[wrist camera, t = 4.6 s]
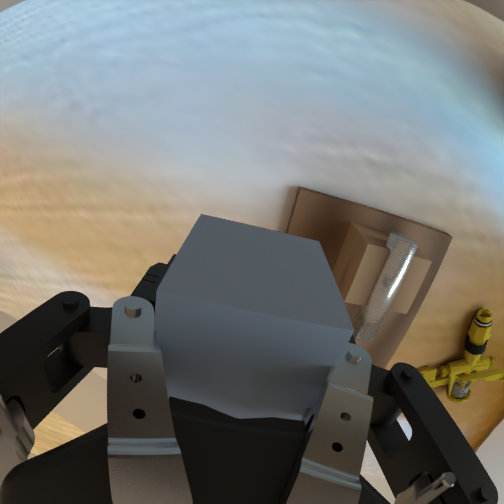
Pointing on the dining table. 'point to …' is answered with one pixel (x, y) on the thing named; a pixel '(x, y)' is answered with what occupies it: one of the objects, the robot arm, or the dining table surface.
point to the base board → (331, 236)
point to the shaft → (384, 287)
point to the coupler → (249, 320)
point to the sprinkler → (467, 363)
